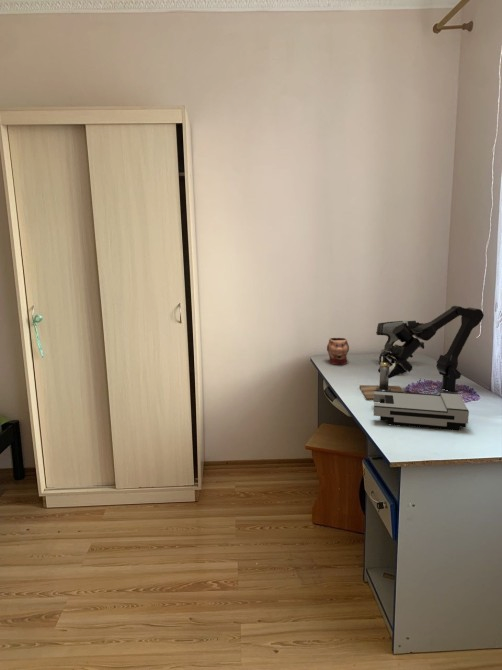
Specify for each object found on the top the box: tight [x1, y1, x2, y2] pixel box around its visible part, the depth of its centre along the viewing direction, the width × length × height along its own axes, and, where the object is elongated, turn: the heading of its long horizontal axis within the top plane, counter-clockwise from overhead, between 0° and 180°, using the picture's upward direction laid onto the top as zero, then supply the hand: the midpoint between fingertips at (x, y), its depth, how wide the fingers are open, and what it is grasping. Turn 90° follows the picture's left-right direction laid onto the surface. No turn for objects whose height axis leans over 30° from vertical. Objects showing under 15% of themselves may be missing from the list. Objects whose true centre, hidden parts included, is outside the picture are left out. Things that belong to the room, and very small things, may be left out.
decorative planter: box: [326, 337, 350, 365], centre depth 261 cm, size 20×12×14 cm, turn 2°
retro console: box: [373, 390, 470, 432], centre depth 176 cm, size 21×32×8 cm, turn 75°
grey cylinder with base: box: [376, 362, 391, 391], centre depth 204 cm, size 6×6×13 cm
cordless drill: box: [375, 320, 424, 365], centre depth 254 cm, size 8×24×25 cm, turn 78°
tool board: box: [359, 384, 405, 401], centre depth 205 cm, size 18×18×1 cm
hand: (383, 374), depth 204 cm, fingers open, 9 cm apart
